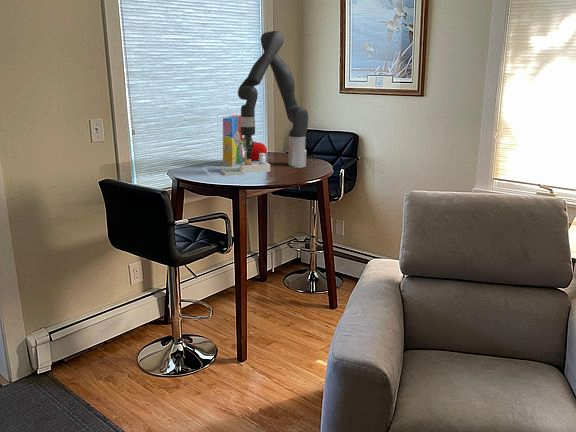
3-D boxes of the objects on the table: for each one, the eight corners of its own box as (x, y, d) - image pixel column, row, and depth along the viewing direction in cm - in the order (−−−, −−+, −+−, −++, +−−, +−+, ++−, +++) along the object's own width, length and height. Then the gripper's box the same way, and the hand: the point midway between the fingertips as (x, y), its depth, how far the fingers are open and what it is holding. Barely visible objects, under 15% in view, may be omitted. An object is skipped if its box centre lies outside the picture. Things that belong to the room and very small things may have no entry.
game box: (232, 168, 297) (232, 118, 289) (222, 168, 298) (222, 118, 290) (242, 162, 316) (242, 115, 309) (233, 161, 317) (233, 114, 310)
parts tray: (239, 172, 286) (239, 168, 286) (244, 176, 277) (244, 171, 277) (221, 173, 283) (221, 168, 283) (225, 177, 274) (225, 172, 274)
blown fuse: (250, 166, 288) (250, 149, 285) (252, 167, 285) (251, 150, 282) (244, 166, 287) (244, 149, 284) (245, 167, 284) (245, 150, 281)
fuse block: (266, 170, 294) (266, 162, 292) (270, 173, 287) (270, 164, 286) (239, 171, 289) (239, 163, 288) (242, 174, 283) (242, 165, 281)
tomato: (242, 158, 327) (242, 140, 323) (262, 157, 332) (262, 139, 329) (249, 162, 316) (249, 143, 313) (269, 161, 322) (270, 142, 319)
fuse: (264, 169, 291) (264, 152, 289) (265, 170, 288) (266, 154, 286) (258, 169, 290) (258, 153, 288) (259, 171, 287) (260, 154, 284)
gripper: (258, 126, 275) (258, 160, 279) (251, 123, 287) (251, 155, 292) (244, 127, 272) (244, 161, 277) (237, 124, 285) (237, 156, 290)
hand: (248, 158), depth 285 cm, fingers closed on blown fuse, 3 cm apart
